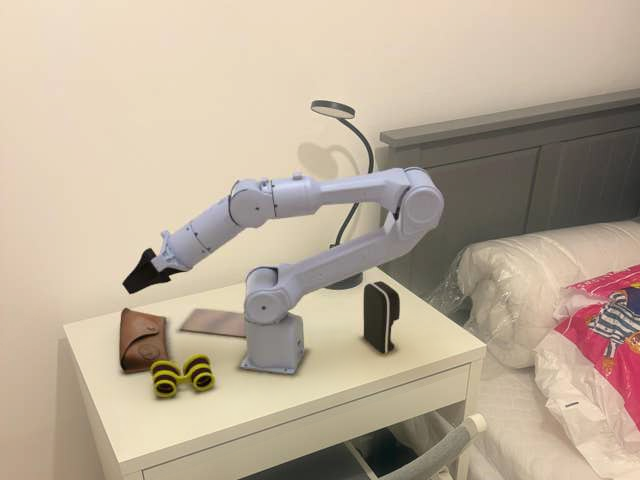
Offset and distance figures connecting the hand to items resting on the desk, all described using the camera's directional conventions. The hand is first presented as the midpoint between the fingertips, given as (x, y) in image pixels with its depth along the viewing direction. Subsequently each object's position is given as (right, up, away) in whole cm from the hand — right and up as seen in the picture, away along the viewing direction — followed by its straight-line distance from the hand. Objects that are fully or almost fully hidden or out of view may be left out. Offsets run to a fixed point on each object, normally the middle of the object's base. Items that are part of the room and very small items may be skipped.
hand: (136, 284), depth 104 cm
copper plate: (+10, -4, +20) cm, 23 cm away
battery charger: (+40, -9, +13) cm, 43 cm away
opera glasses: (+7, -17, +3) cm, 18 cm away
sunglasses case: (-3, -9, +15) cm, 17 cm away
